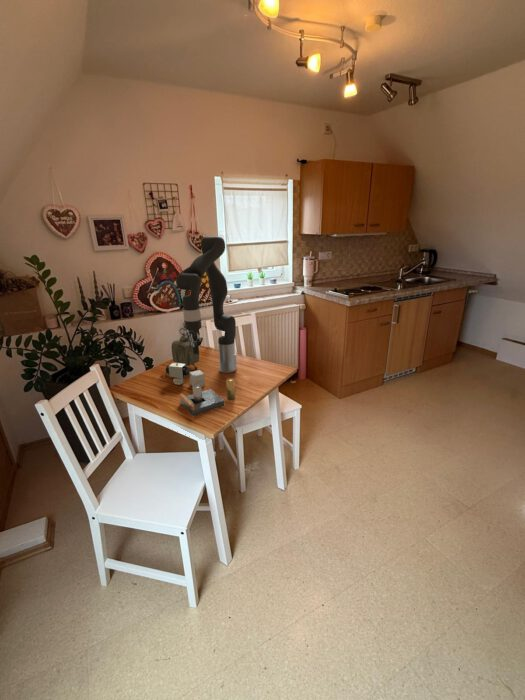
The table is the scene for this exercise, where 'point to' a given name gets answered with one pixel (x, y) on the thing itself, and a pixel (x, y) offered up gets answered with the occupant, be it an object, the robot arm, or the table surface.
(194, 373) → the skincare box
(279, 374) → the table surface
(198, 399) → the translucent grey cylinder
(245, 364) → the table surface
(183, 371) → the pneumatic valve
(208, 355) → the table surface
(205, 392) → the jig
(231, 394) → the brass bushing
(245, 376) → the table surface
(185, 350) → the olive green lantern
